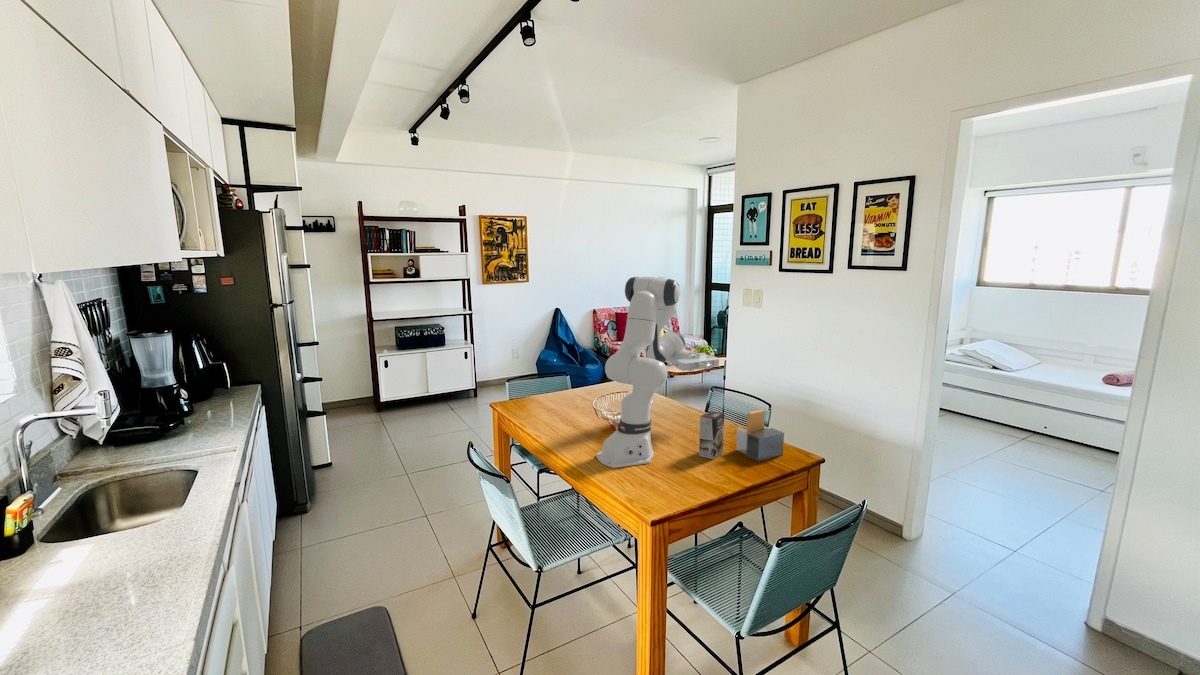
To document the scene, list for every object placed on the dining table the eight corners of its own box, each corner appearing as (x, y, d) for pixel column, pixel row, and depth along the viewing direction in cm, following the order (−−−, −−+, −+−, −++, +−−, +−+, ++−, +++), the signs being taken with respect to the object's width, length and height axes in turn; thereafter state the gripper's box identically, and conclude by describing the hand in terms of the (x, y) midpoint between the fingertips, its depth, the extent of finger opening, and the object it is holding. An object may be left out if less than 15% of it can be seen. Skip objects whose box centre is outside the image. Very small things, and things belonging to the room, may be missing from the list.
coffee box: (714, 460, 185) (715, 419, 182) (698, 456, 189) (699, 416, 186) (723, 452, 192) (725, 412, 190) (708, 448, 196) (709, 410, 193)
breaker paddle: (750, 438, 190) (751, 414, 188) (746, 437, 192) (747, 412, 190) (763, 435, 193) (764, 411, 191) (759, 434, 195) (760, 409, 193)
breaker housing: (758, 461, 183) (759, 438, 182) (734, 450, 194) (735, 428, 193) (782, 454, 189) (784, 432, 188) (758, 444, 200) (759, 423, 198)
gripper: (670, 356, 216) (690, 361, 203) (706, 352, 225) (727, 357, 213) (670, 370, 217) (689, 376, 204) (706, 365, 226) (727, 371, 214)
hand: (709, 366), depth 209 cm, fingers closed
